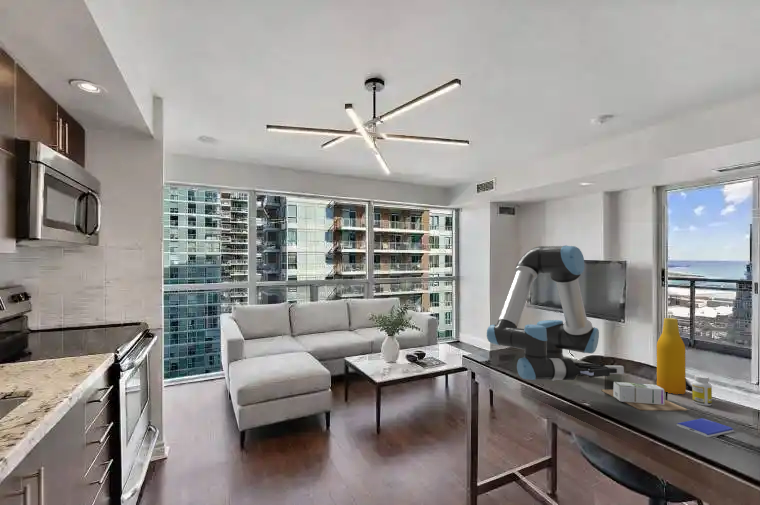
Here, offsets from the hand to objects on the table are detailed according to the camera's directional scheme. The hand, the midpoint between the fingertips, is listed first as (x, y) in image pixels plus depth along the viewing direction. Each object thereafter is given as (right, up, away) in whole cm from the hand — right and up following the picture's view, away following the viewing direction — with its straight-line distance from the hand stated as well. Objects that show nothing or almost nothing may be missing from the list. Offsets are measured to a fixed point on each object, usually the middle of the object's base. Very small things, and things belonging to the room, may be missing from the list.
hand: (622, 369), depth 137 cm
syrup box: (-3, -7, -1) cm, 8 cm away
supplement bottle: (+28, -12, -2) cm, 31 cm away
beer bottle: (+27, -13, +12) cm, 32 cm away
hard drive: (+9, -11, -24) cm, 28 cm away
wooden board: (+7, -11, 0) cm, 13 cm away
